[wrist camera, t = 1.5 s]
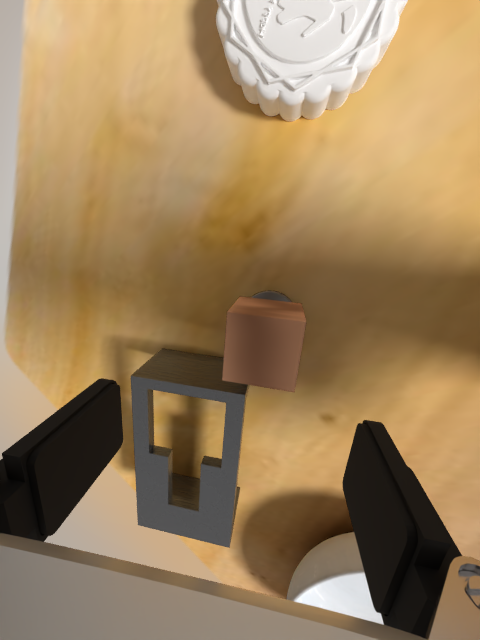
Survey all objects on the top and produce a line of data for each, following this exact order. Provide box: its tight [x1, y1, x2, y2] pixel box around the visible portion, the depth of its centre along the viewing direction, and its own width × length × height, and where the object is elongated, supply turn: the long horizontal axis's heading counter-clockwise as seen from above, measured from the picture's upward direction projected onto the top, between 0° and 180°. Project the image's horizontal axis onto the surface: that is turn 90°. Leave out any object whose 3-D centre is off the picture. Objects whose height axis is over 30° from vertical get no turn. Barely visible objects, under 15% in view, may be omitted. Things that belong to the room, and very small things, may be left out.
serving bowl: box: [287, 532, 384, 625], centre depth 29 cm, size 21×21×7 cm
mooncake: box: [216, 0, 408, 121], centre depth 17 cm, size 12×12×4 cm
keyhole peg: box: [222, 291, 306, 392], centre depth 21 cm, size 5×5×8 cm
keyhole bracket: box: [131, 349, 249, 548], centre depth 27 cm, size 18×10×6 cm, turn 175°
